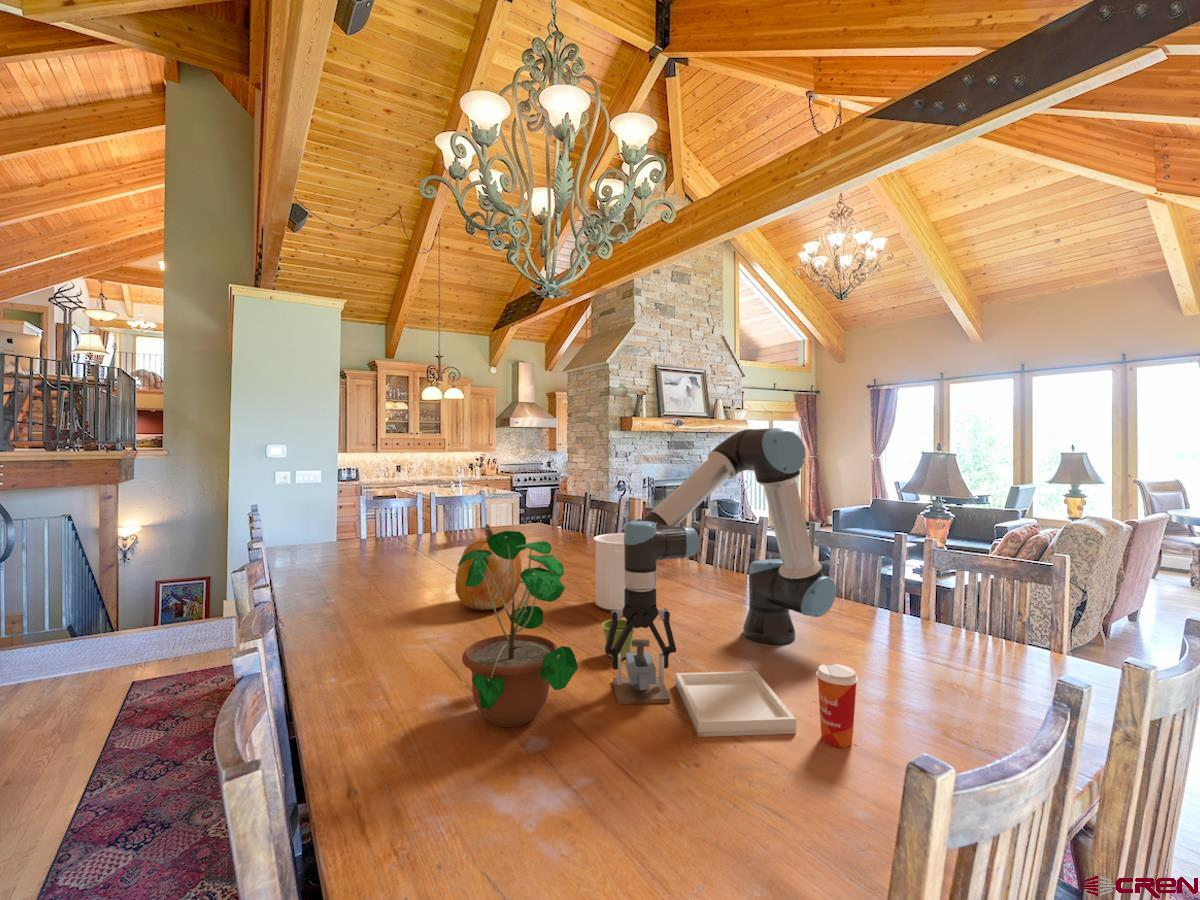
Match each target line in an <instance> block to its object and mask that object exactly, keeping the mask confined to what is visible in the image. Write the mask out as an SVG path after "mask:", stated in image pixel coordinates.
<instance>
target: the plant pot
mask: <svg viewBox="0 0 1200 900" xmlns="http://www.w3.org/2000/svg"><path fill="white" fill-rule="evenodd" d="M611 621H612V619H609V620H605V621H604V622H602V623H601V627H602V629H603V633H604V635H605V642H606V641H607V637H608V633H609V629H610V625H611ZM626 622H627V620H626V619H625V618H624V619H620V620H619V621H618V624H617V628H616V632H615V636H614V640H613V644H612V648H614V646H615V644H616V642H617V640H618V638H619V636H620V634H621V632H622V630H623V629H624V627H625V624H626ZM634 633H635V628H634V627H633V629H632V631H631V632H630V633H629V635H628V637H627V639H626V641H625V643H624V645H623V647H622V649H621V650H620V652H619V653H620V654H621V660H624V659H626V653H632V652H631V651H632V650H631V649H632V640H633V636H634V635H633V634H634ZM607 656H608V657H610V658H611V659H612V655H611V654H607Z"/></svg>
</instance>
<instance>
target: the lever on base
mask: <svg viewBox="0 0 1200 900" xmlns="http://www.w3.org/2000/svg"><path fill="white" fill-rule="evenodd" d="M635 647H636V653H637V667H644V653H645V652H644V651H645V650H644V649H645V647H650V640H649V639H647V638H646V639H644V638H643V639H642V638H641V639H632V644H631V648H635ZM612 679H613V680H612V683H613V687H614V694H615V699H616V704H617V705H635V704H636V705H637V704H639V705H640V704H641V705H643V704H670V703H671V697H670V695H669V692H668V690H667V687H666V684H665V683H664V684H661V683H660V680H659V676H656V684H650V690H640V688H639V684H634V685H631V684H630V680H629V677H628V676H626V677H622V676H621V685H618V682H617V677H612Z"/></svg>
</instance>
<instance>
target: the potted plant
mask: <svg viewBox="0 0 1200 900" xmlns="http://www.w3.org/2000/svg"><path fill="white" fill-rule="evenodd" d="M487 543H488V546H489V548H490V549H491V551H492V552H494V553H495V554H496V555H497V556H499V557H502V558H504V559H509V560H510V559H515V557H516V556H517V555H518V554H519V555H520V552H521V551H524V550H526V549H529V555H528V556H527V558H528V568H524V569H523V571H522V573H521V574H520V576H521V580H520V584H524V585H525V590H524V593H523V595H522V597H521V600H520V601H519V603H518V606H517V607H516V609H515V595H514V585H513V576H512V568H511V560H510V570H511V580H512V593H513V598H512V603H511V605H512V606H511V613H509V611H508V607H507V606H506V604H505V603H504V601H503V598H502V596H501V593H500V591H499V588H498V586H497V584H496V582H495V580H494V578H493V576H492V574H491V572H490V570H489V568H488V563H489V561H488V559H487V557H488V556H491V555H492V554H493V553H492V552H490V551H488V550H474V551H470V552H468V553H467V554H465V555H464V556H463V557H462V556H461V558H460V559H459V560H460V561H459V562H458V564H457V567H459V565H460V564H462V563H463V562H465V561H467V560H469V559H473V558H474V559H473V561H472V563H471V565H470V567H469V571H468V578H467V581H466V584H465V586H466V587H471V586H474V587H477V586H478V585H479V584H480V583H481V582H482V581H483V579H485V577H484V575H485V572H486V568H487V569H488V571H489V573H490V575H491V577H492V579H493V581H494V583H495V585H496V588H497V590H498V592H499V595H500V597H501V600H502V603H503V609H504V610H505V612H506V614H507V617H508V618H509V621H510V631H509V634H507V632H506V629H505V628H504V625H503V624H502V622H501V619H500V616H499V614H498V613H497V609H495V607H494V604H493V601H492V598H491V595H490V591H489V588H488V584H487V581H486V579H485V581H486V585H487V588H488V592H489V596H490V600H491V603H492V606H493V609H494V610H493V611H494V614H495V617H496V618H497V619H496V620H497V622H498V623H499V625H500V629H501V631H502V632H503V634H501V635H497V636H496V635H495V636H491V637H486V638H484V639H481V640H478V641H476V642H474V643H472V644H470V645H469V646H468V647H467V648H465V650H464V652H463V653H462V658H461V660H462V663H463V664H462V665H464V666H465V667H466V668H468V669H469V670H470V671H471V686H472V689H471V690H472V694H473V695H472V696H473V701H474V703H475V705H476V707H477V710H479V712H480V713H481V715H482V716H483V717H484V718H486V719H487V720H488V721H489V722H490V723H491V724H493V725H495V726H498V727H502V728H503V727H504V728H512V727H513V728H514V727H518V726H521V725H522V726H523V725H525V724H528V723H529V722H530V721H531V720H533V718H534V717H535V716H536V715H537V714H538V713H539V712H540V711H541V709H542V708H543V707H544V706H545V704H546V700H547V698H548V695H549V689H550V686H551V688H552V689H553V690H554V691H560V690H563V689H565V688H566V687H567V685H568V684H569V682H570V681H571V679H572V677H573V676H574V675H575V673H576V672H577V671H578V669H579V667H578V663H577V658H576V656H575V655H576V654H575V653H574V651H573V649H572V648H571V647H569V646H564V645H562V646H561V645H560V646H559V647H558V646H557V644H555V642H553V641H552V640H550V639H548V638H545V637H543V636H538V635H534V634H525V633H524V634H523V633H520V634H519V632H521V631H522V630H523V629H527V630H533V629H537V628H539V627H540V626H541V625H543V624H544V623H543V622H544V611H543V609H542V608H541V607H539V606H536V605H535V604H536V600H539V601H543V602H549V603H551V602H555V601H557V600H558V599H560V598H561V596H562V594H563V592H564V590H565V589H566V587H565V586H564V584H563V583H562V582H561V578H562V577H563V575H565V574H564V573H565V570H564V569H565V568H564V565H563V563H562V562H561V561H560V560H558V559H557V558H556V557H555V556H554V555H553V554H550V553H551V551H552V549H553V547H552V544H550V543H549V542H547V541H545V540H543V541H536V542H535V541H534V542H528V543H527V539H526V536H525V535H524V534H523V533H522V532H521V531H516V530H513V531H512V530H504V531H501V532H498V533H493V535H491V537H490V538H489V540H488V542H487ZM532 551H534V552H537V553H540V554H541V555H534V554H532ZM531 561H534V562H537V563H539V564H540V565H539V566H538V567H531V563H532V562H531ZM542 565H543V567H545V568H546V569H545V568H543V567H542ZM526 595H527V596H526ZM531 596H532V597H534V599H533V602H532V605H528V604H529V601H530V598H531ZM525 598H526V599H525ZM518 627H520V628H519V629H518Z"/></svg>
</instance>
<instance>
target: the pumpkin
mask: <svg viewBox="0 0 1200 900" xmlns="http://www.w3.org/2000/svg"><path fill="white" fill-rule="evenodd" d="M484 534H485V538H481V539H478V540H476V541H473V542H472V543H470V544H468V545H467V546H466V547H465V548H464V551H463V552H462V555H461V558H462V557H463V556H464V555H465V554H467V553H468V552H470V551H474V550H488V551H490V552H492V551H491V549H490V548H489V546H488V543H487V542H488V540H489V538H490V537H491V535H494V532H493V530H492V528H491V526H490V525H489V524H485V526H484ZM492 553H493V554H492V555H491V556H488V557H487V559H488V561H489V563H488V568H489V570H490V572H491V574H492V576H493V578H494V580H495V582H496V584H497V586H498V588H499V591H500V593H501V596H502V598H503V601H504V603H505V605H506V604H508V603H509V602H510V601H511V600H513V593H512V580H511V570H510V560H511V568H512V576H513V585H514V596H515V595H516V593H517V591H518V589H519V586H520V584H521V583H520V581H522V579H521V576H520V574H521V573H522V572H523V571H522V569H523V568H522V567H523V566H522V560H521V556H520V553H519V554H518V555H517V556H516V557H515V559H510V560H509V559H504V558H502V557H499V556H497V555H496V554H495V553H494V552H492ZM473 559H474V558H473ZM473 559H469V560H467V561H465V562H463V563H462V564H460V565H459V566H457V567H458V568H457V571H456V576H455V593H456V595H457V597H458V599H459V601H460V602H461V603H462V604H464V606H465V607H468V608H470V609H472V610H475V611H490V610H492V611H494V609H493V606H492V603H491V600H490V596H489V592H488V588H489V591H490V595H491V598H492V601H493V604H494V607H495V609H496V610H498V609H499V608H501V607H504V605H503V603H502V600H501V597H500V595H499V592H498V590H497V588H496V585H495V583H494V581H493V579H492V577H491V575H490V573H489V571H488V569H487V568H486V572H485V575H484V577H485V579H486V581H487V584H488V588H487V585H486V581H485V579H483V581H482V582H481V583H480V584H479V585H478V586H477V587H474V586H471V587H466V586H465V584H466V581H467V578H468V571H469V567H470V565H471V563H472V561H473Z"/></svg>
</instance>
